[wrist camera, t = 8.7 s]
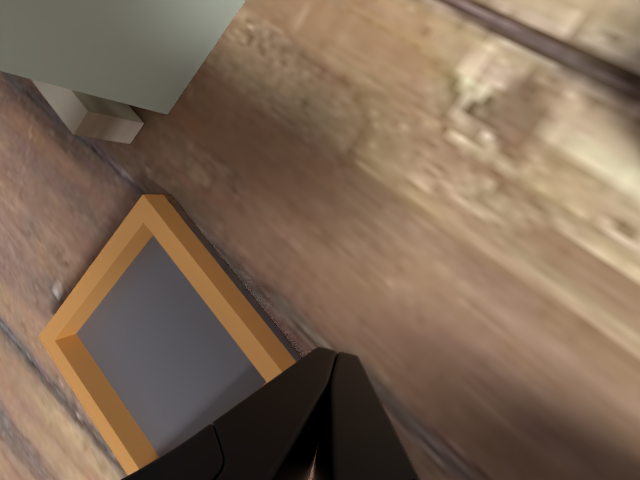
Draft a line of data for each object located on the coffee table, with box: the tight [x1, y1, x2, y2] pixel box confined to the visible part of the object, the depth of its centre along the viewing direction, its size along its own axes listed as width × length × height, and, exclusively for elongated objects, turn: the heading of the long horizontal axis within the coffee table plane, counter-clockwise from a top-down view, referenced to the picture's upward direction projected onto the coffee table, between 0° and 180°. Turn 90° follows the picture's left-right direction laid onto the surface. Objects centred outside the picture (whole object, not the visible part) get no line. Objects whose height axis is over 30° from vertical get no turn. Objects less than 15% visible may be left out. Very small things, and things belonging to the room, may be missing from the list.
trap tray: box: [38, 194, 302, 475], centre depth 23 cm, size 12×12×2 cm
